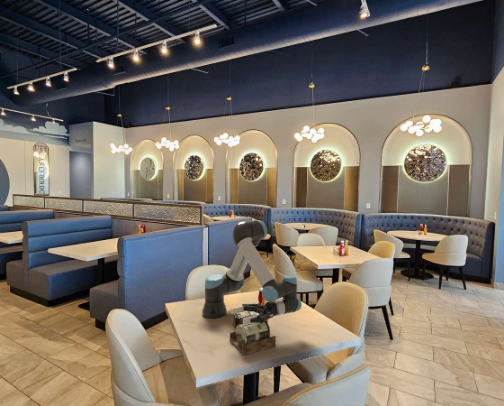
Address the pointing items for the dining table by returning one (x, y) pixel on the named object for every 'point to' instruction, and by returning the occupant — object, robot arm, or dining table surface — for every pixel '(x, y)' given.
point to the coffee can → (252, 332)
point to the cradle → (252, 344)
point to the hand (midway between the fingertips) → (237, 316)
